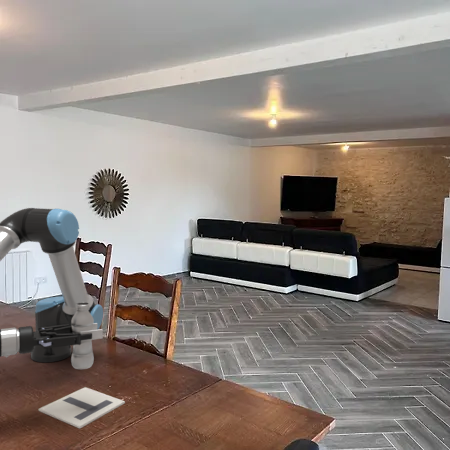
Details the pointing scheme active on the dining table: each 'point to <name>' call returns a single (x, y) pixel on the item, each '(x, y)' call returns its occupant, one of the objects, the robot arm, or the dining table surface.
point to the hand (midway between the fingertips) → (99, 330)
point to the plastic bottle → (82, 352)
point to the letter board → (81, 407)
